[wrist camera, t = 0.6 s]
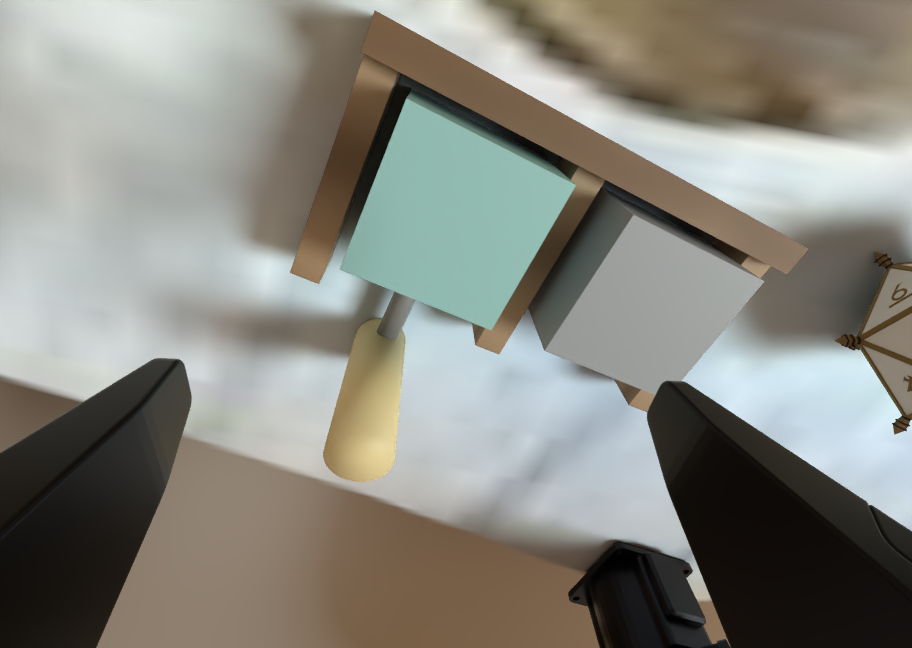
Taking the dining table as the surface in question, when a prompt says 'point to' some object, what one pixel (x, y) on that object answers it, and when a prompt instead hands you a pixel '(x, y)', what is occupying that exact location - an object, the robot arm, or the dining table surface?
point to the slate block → (637, 295)
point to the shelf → (578, 145)
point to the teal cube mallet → (434, 257)
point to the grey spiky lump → (890, 336)
